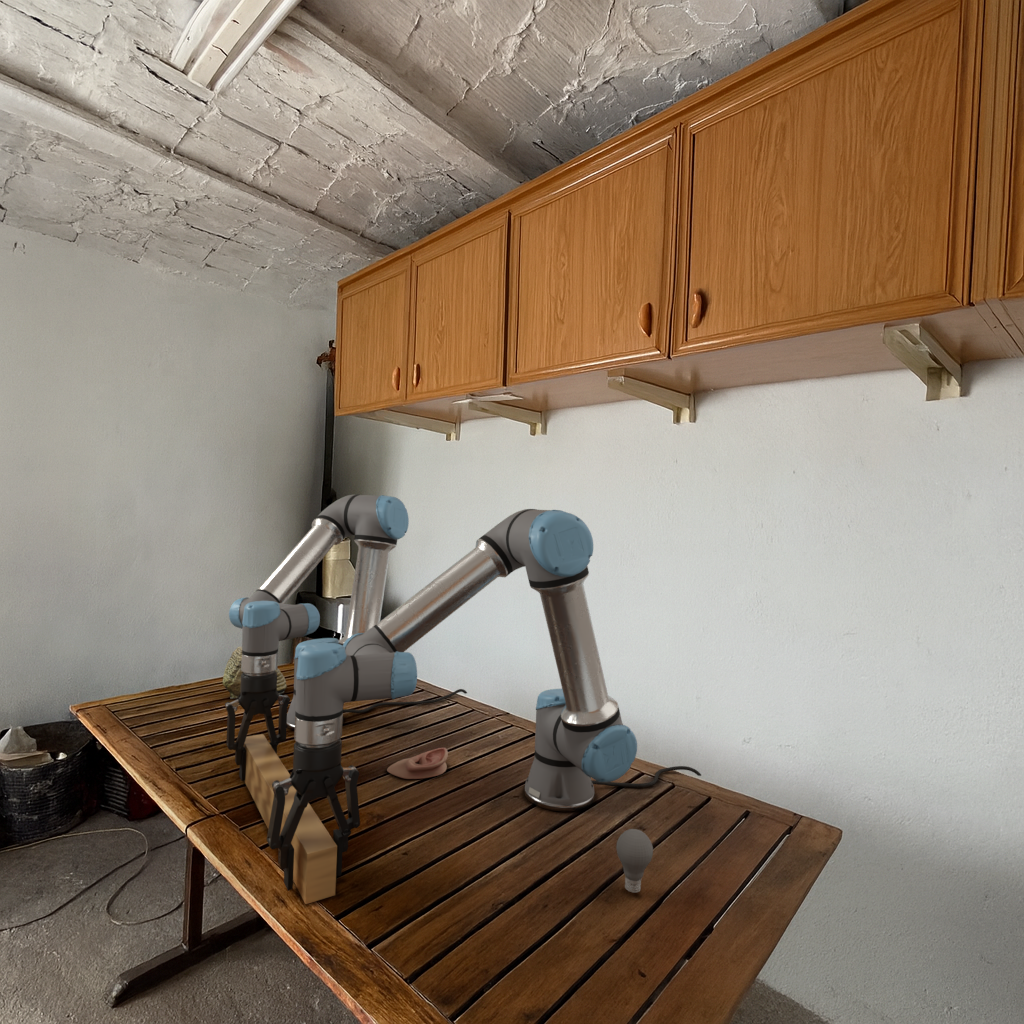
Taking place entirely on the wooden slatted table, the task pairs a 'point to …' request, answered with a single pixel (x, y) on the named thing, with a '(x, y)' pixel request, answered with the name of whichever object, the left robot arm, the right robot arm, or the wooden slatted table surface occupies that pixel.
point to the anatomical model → (421, 765)
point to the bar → (311, 837)
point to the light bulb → (634, 857)
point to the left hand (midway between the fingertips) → (255, 775)
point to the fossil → (234, 673)
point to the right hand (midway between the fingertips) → (312, 878)
